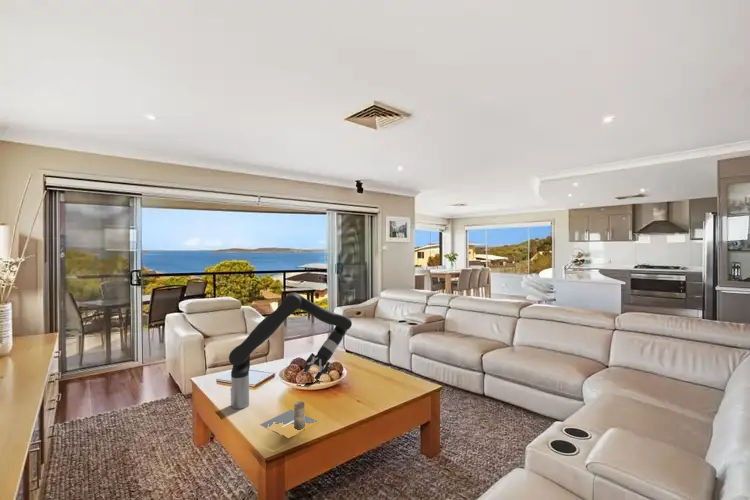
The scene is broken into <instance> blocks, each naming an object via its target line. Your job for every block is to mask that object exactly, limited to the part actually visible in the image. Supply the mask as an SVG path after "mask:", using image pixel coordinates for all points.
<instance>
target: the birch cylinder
mask: <svg viewBox="0 0 750 500" xmlns="http://www.w3.org/2000/svg"><path fill="white" fill-rule="evenodd" d="M293 411H294V428H295V429H297V430H301V429H303V428H304V427H305V418H304V415H305V402H304V401H301V400H299V401H296V402H294V403H293Z"/></svg>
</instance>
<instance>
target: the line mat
mask: <svg viewBox="0 0 750 500" xmlns="http://www.w3.org/2000/svg"><path fill="white" fill-rule="evenodd" d="M304 418H305V422H306V423H309V424H310V423H314V421H315V422H317V421H318V420H316V419H314V418H312V417H309V416H307V415H305V414H304ZM310 421H311V422H310ZM273 422H276V423H275V424H279V423H282V422H283V424H286V425H284V426H282V427H285V426H287V425H289V424H294V409H289V410H287V411H285V412H283V413H281V414H279V415H277V416H275V417H272V418H271V419H269V420H267V421H264V422H262V423H260V424H259V425H260V426H262V427H264V428H265V429H267V427H268V424H269V427H270V426H271V425H272V424H273Z"/></svg>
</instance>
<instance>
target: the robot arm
mask: <svg viewBox="0 0 750 500" xmlns="http://www.w3.org/2000/svg"><path fill="white" fill-rule="evenodd" d="M297 310H302V311H304V312H306V313H308V314H309V315H311V316H312V317H314V318H315V319H316V320H318V321H321V322H322V323H325V324H328V325H331V326H332V325H333V326H334V328H333V330H332V332H331V333H330V334H329V336H328V337H327V338H326V340H325V341H324V342H323V343H322V345H321V346H320V348H319V350H318V351H317V354H315V353H313V352H311V353H310V355H309V356H308V358H307V359H306V360H305V363H306V365H305V367H304V369H303V373H307V372H309V370H310V368H311V367H312V366H317V367H318V368H319V370H318V371H319V372H318V373H317V375H316V376H315V379H316V380H318V379H319V380H320V379H321V378H320V376H321V375H322V374H326V373H327V374H328V371H329V370H330V368H331V366H332V363H331V362H329V361H330V359H331V358H332V356H333V355H334V354H335V352H336V350H337V348H338V346H339V344H341V342H342V340H343V338H344V336H345V334H346V333H347V332H348V330H350V329H351V327H352V326H353V325H352V324H353V322H352V320H351V319H350V318H349V317H348V316H345V315H342V314H338V313H335V312H333V311H331V310H329V309H327V308H324V307H323V306H320V305H318V304H316V303H313V302H312V301H311V300H309V299H307V298H305V297H304V296H302V295H301V294H299V293H298V292H295V291H294V292H290V293H288V294H287V295H286V296H285V298H284V299H283V301H282V302H281V303H280V304H279V305H278V307H277V308H276V309H275V310H274V311H273V312H272V313H270V314H268V315H267V316H266V317H264V319H262V320H261V321H260V322H259V323H258V324H257V325H256V326H255V327H254V329H253V330H252V331H251V332H250V333H249V334H248V336H247V337H246V338H245V339H244V341H243V342H241V344H239V345H237V346H236V347H234V348H233V349H232V350H231V351H230V352H229V355H228V362H229V363H230V364H231V365H232V369H231V373H230V381H231V382H230V383H231V384H230V385H231V388H230V405H231V408H232V409H235V410H242V409H245V408H247V407H248V406H249V405H250V377H249V375H250V372H249V371H250V366H251V354H252V353H253V352H254V350H256V349H257V348H258V347H259V346H261V345H262V344H263V343H265V342H266V341H267V340H268V339H269V338H270V337H271V336H272V335H273V334H274V333H275V332H276V331H277V330H278V329H279V327H280V326H281V325H282V324H283V323H284V321H285V320H286V319H287V318H289V316H291V315H293V314H294V313H295V312H296V311H297Z"/></svg>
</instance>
